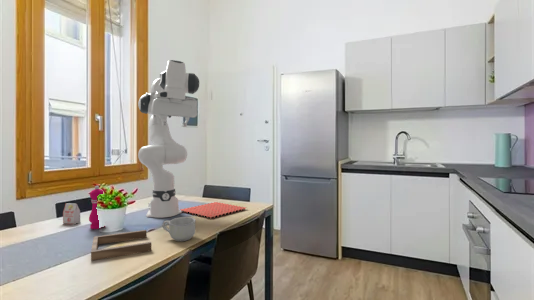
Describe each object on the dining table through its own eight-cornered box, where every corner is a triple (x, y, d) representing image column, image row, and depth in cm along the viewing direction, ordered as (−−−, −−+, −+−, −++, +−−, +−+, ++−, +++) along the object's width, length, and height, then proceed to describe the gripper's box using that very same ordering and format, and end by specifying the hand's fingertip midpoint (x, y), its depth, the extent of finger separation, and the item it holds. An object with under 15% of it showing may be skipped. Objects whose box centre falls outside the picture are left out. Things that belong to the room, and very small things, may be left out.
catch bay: (93, 244, 120) (93, 236, 120) (146, 236, 129) (146, 229, 129) (91, 260, 104) (90, 252, 103) (151, 250, 112) (151, 242, 112)
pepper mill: (98, 229, 140) (97, 187, 139) (85, 229, 141) (84, 186, 141) (109, 225, 147) (109, 184, 146) (97, 224, 148) (96, 184, 148)
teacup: (200, 236, 129) (200, 218, 129) (185, 244, 119) (185, 224, 119) (173, 233, 134) (173, 215, 134) (156, 241, 124) (156, 221, 123)
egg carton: (216, 204, 196) (216, 201, 196) (247, 210, 179) (247, 207, 178) (179, 213, 175) (179, 209, 175) (210, 220, 157) (210, 216, 157)
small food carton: (69, 221, 155) (68, 202, 154) (80, 222, 153) (79, 203, 153) (63, 223, 151) (62, 204, 151) (74, 224, 149) (73, 204, 149)
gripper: (195, 99, 146) (194, 127, 146) (150, 94, 135) (149, 124, 136) (199, 97, 141) (198, 127, 141) (153, 92, 130) (152, 124, 130)
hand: (174, 126), depth 138 cm, fingers open, 8 cm apart
